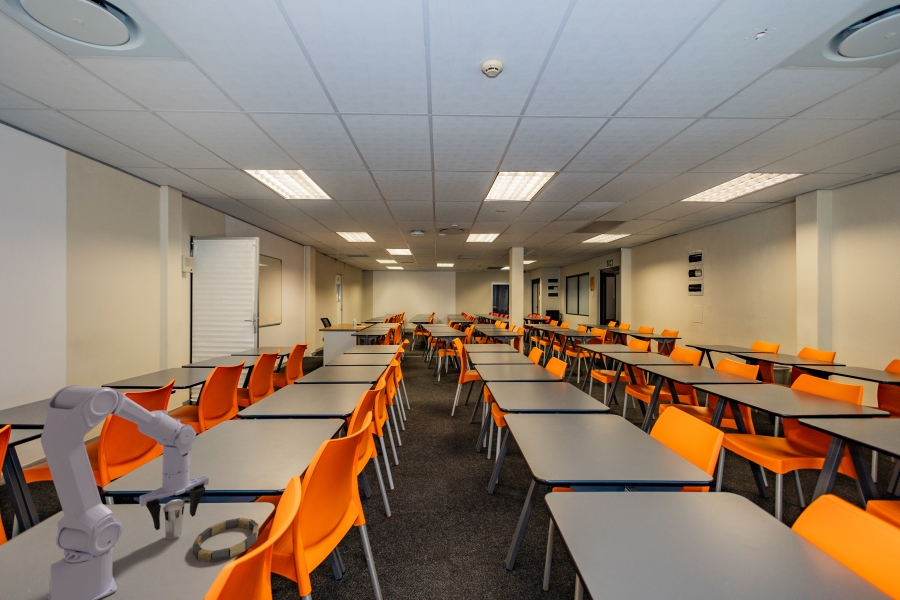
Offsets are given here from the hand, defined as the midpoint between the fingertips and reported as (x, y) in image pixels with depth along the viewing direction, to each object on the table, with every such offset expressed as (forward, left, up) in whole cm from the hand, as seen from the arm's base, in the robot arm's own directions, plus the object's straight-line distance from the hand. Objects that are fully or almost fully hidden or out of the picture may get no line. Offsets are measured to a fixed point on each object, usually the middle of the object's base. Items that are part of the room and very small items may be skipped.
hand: (175, 521), depth 95 cm
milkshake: (0, 0, -4) cm, 4 cm away
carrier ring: (+8, -13, -4) cm, 16 cm away
